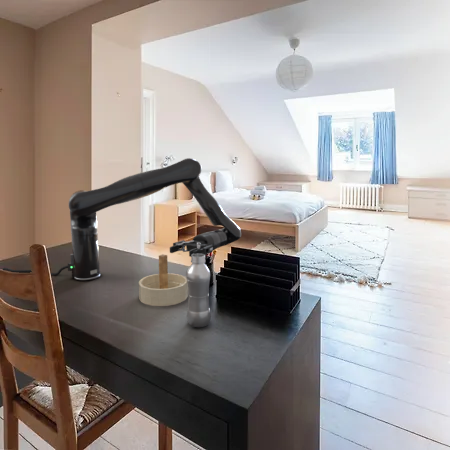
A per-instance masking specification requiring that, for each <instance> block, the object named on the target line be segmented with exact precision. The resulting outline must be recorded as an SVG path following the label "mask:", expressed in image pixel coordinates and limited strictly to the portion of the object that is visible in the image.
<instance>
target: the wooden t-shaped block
mask: <svg viewBox="0 0 450 450" xmlns="http://www.w3.org/2000/svg"><path fill="white" fill-rule="evenodd" d="M168 267H169V266H168V254H163V253H162V254H160V255H158V274H159V285H160V289H167V288H168V273H169V271H168V269H169V268H168Z"/></svg>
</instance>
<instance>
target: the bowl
mask: <svg viewBox="0 0 450 450" xmlns="http://www.w3.org/2000/svg"><path fill="white" fill-rule="evenodd" d="M138 298H139V299H138V300H139V301H140V302H141V303H142V304H144V305H146V306H150V307H170V306H175V305H178V304H181V303H183V302H184V301H186V300H187V299H188V298H189V293H188V284H187V278H186V275H182V274H180V273H179V274H178V273H171V272H168V288H167V289H160V285H159V273H154V274H150V275H146V276H144V277H142V278H141V279H140V280H139V281H138Z"/></svg>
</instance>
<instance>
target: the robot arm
mask: <svg viewBox="0 0 450 450" xmlns="http://www.w3.org/2000/svg"><path fill="white" fill-rule="evenodd" d="M201 173H202V165H201V163H200V162H199V161H198V160H197V159H194V158H190V157H188V158H184V159H182V160H180V161H178V162H175V163H173V164H170V165H167V166H164V167H160V168H156V169H150V170H146V171H143V172H139V173H135V174H132V175H129V176H126V177H123V178H121V179H119V180H117V181H114V182H113V183H111V184H108V185H106V186H103V187H99V188H96V189H92V190H91V189H90V190H85V189H81V190H80V189H79V190H77V191H74V192H73V193H72V194H71V195H70V196H69V199H68V210H69V219H70V236H71V248H72V253H70V262H68V263H67V265H65V266H62V267H60V268H59V269H58V271H57V272H50V273H51V275H50V276H58V275H60V274H61V273H62V271H64V270H65V269H67V271H68V272H71V279H73V280H76V281H78V282H79V281H80V282H81V281H82V282H85V281H93V280H96V279H98V278H100V277H101V270H100V269H101V268H100V267H101V266H100V250H99V235H98V220H97V212H99V211H102V210H105V209H106V208H110V207H112V206H116V205H121V204H126V203H129V202H132V201H137V200H139V199H142V198H145V197H148V196H150V195H153V194H155V193H158V192H160V191H162V190H164V189H166V188H168V187H170V186H173V185H177V184H183V186H184V187H185V188H187V190H188V191H189V192H190V194H191V195H192V196H193V198H194V199H195V201H196V202H197V203H198V205H199V206H200V208H201V209H202V211H203V213H204V214H205V216H206V217H207V219H208V221H209V222H210V224H211V225H212V226H213V227H218V226H221V227H223V228H221V229H216V230H212V231H207V232H203V233H201V234H200V233H199V234H197V235H195V236H194V237H193V239H192V240H189V241H186V240H184V239H183V240H179V241H176V242H175V241H174V242H173V243H172V246H170V247H169V253H170V254H175V253H176V252H181V251H182V252H183V253H185V252H188V257H190V258H191V256H192V254H204V255H205V256H208V255H209V254H211V253H213V252H214V251H215V250H217V249H219V248H221V247H225V246H227V245H230V244H233V243H235V242H237V241H239V240H240V239H241V237H242V231H241V228H240V227H239V225H238V224H236V223H235V221H233V220H232V219H231V218H230V217H229V216H228V215H227V214H226V213H225V211H224V210H223V208H222V206H221V205H220V203H219V201H218V200H217V199H216V198H215V197H214V196H213V195H212V194H211V193H210V192H209V190H207V188H206V187H205V185H204V183H203V182H202V180H201V178H200V175H201ZM185 247H186V248H185ZM1 269H3V271H8V272H10V271H11V272H12V273H32V272H31V270H32V269H13V268H9V267H2V268H1ZM11 272H10V273H11Z"/></svg>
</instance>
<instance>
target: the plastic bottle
mask: <svg viewBox="0 0 450 450" xmlns="http://www.w3.org/2000/svg"><path fill="white" fill-rule="evenodd" d="M190 263H191V265H190V266H188V268H187V270H186V273H185V277H186V278H187V284H188V302H187V303H188V304H187V311H186V320H187V323H188V324H189V326H191V327H193V328H204V327H207V326H209V324H210V323H211V318H212V312H211V308H210V299H209V296H210V295H209V292H210V290H209V289H210V281H211V271H210V268H208V266H207V264H206V255H204V254H192V256H191V257H190Z"/></svg>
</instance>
